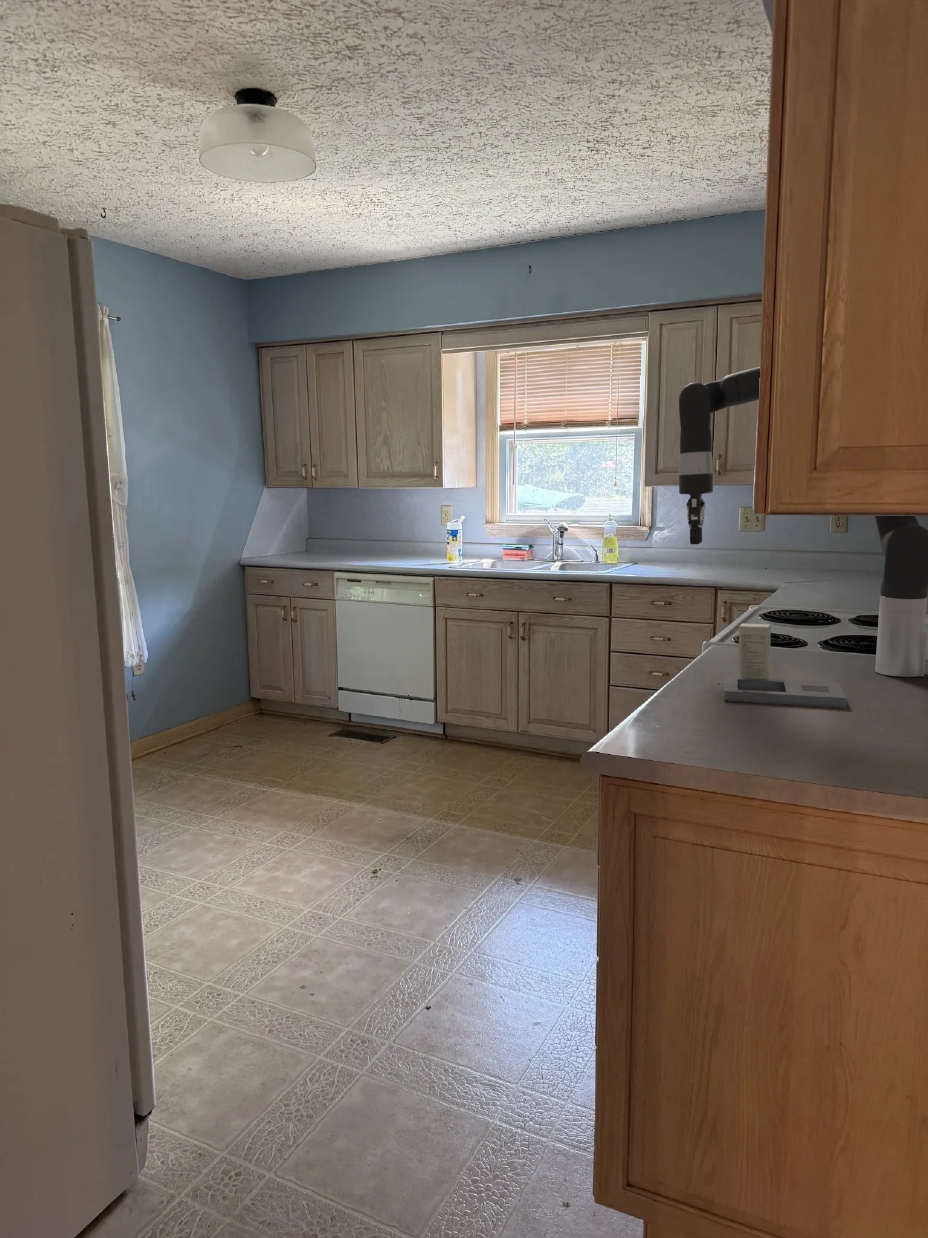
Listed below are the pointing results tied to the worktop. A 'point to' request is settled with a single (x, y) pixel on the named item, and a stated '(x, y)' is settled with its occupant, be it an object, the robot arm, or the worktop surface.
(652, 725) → the worktop surface
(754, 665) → the skincare box
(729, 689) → the grey recessed board
